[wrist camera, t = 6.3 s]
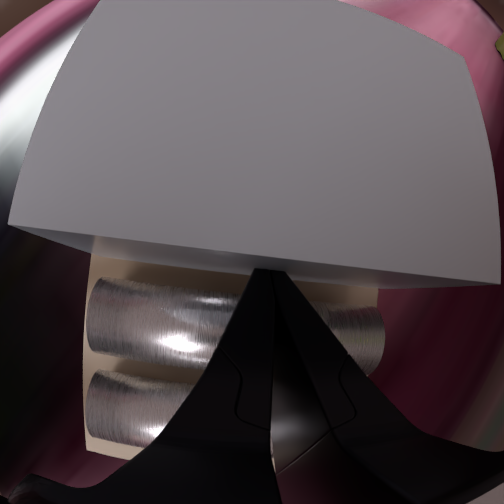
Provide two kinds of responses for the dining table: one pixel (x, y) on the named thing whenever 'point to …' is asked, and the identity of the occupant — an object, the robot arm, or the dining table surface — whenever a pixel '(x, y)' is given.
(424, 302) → the dining table surface
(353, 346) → the rollers
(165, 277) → the track board
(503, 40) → the plant pot
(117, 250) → the slab
